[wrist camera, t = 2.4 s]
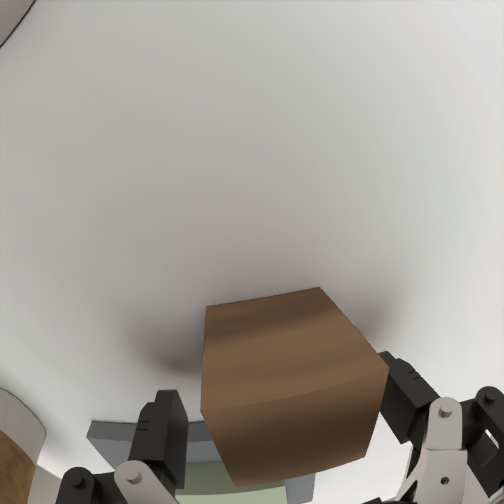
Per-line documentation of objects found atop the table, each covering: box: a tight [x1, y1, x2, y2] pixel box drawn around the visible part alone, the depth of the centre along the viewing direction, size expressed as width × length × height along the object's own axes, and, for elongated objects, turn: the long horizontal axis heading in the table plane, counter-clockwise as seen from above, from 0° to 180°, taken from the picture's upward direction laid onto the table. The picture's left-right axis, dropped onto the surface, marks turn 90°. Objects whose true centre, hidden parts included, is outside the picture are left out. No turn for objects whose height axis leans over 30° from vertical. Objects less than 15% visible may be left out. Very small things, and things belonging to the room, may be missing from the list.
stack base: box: [86, 421, 315, 504], centre depth 13 cm, size 14×14×4 cm
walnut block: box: [200, 287, 389, 487], centre depth 10 cm, size 5×5×6 cm
